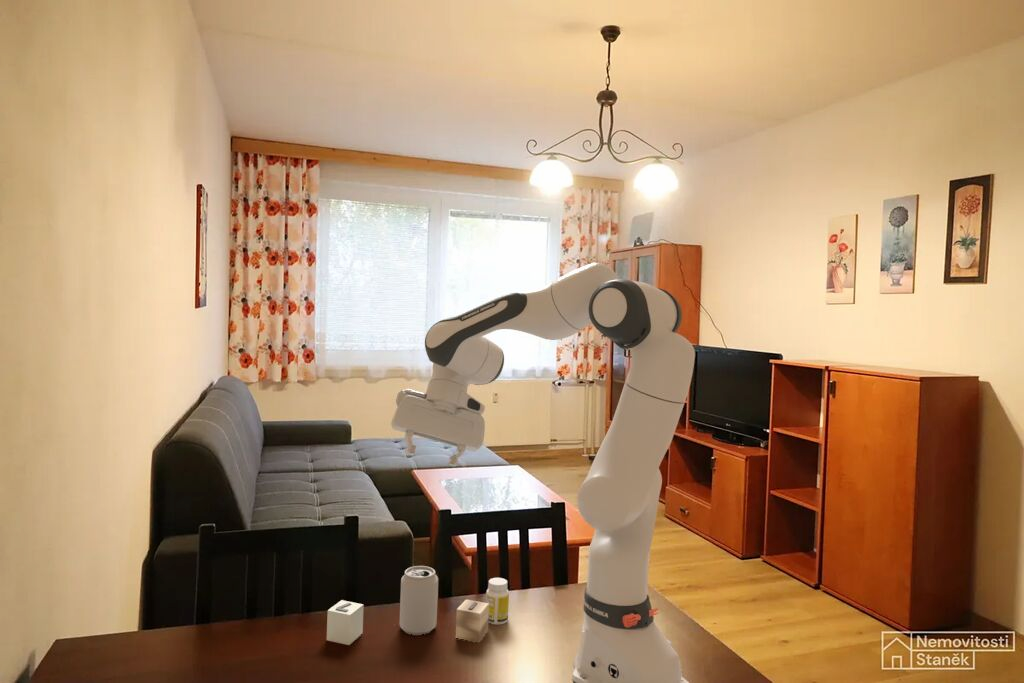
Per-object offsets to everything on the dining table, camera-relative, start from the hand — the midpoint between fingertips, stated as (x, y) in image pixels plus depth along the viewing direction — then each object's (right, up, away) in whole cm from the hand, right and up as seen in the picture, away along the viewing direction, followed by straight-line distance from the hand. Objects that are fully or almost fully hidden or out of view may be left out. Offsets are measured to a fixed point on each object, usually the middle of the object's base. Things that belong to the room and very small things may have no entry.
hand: (431, 459), depth 144 cm
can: (-2, -34, -6) cm, 34 cm away
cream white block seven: (-16, -33, -10) cm, 38 cm away
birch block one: (+9, -34, -7) cm, 36 cm away
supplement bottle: (+14, -34, 0) cm, 37 cm away
